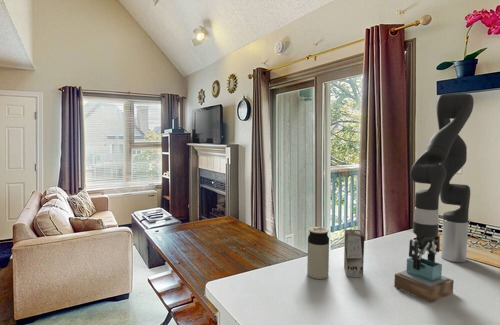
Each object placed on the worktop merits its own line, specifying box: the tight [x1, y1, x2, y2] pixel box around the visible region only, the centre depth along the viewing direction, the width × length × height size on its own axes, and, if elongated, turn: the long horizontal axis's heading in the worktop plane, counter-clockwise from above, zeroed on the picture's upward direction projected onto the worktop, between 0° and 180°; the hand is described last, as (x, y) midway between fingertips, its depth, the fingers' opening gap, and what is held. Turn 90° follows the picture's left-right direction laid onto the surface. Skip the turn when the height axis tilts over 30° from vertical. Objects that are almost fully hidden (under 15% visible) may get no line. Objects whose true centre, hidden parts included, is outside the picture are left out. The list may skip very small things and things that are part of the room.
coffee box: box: [343, 228, 366, 279], centre depth 120 cm, size 9×6×16 cm
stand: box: [393, 269, 454, 304], centre depth 107 cm, size 13×13×5 cm
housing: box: [406, 257, 443, 282], centre depth 106 cm, size 9×6×5 cm, turn 30°
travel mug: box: [306, 226, 330, 280], centre depth 118 cm, size 8×8×18 cm
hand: (423, 266), depth 106 cm, fingers open, 8 cm apart
